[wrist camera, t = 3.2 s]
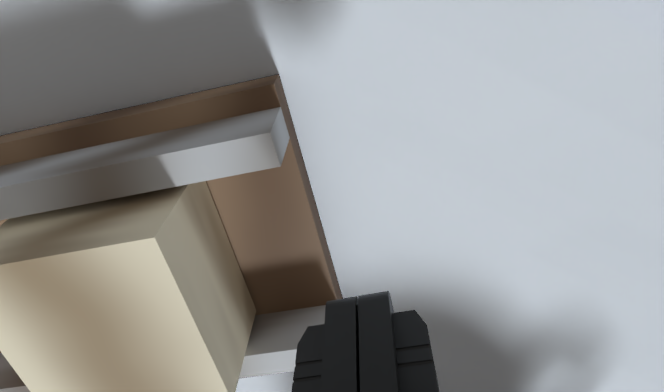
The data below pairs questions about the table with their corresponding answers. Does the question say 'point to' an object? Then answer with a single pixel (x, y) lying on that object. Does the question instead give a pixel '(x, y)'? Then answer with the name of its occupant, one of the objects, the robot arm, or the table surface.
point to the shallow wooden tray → (186, 168)
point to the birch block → (124, 296)
